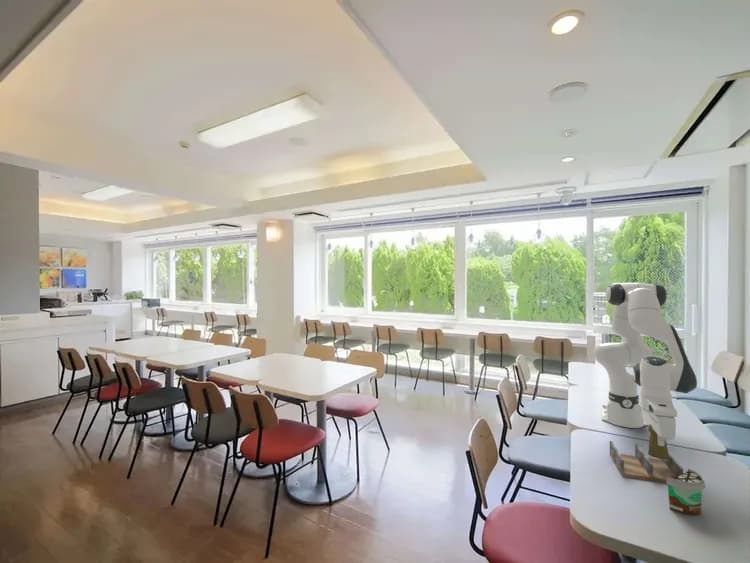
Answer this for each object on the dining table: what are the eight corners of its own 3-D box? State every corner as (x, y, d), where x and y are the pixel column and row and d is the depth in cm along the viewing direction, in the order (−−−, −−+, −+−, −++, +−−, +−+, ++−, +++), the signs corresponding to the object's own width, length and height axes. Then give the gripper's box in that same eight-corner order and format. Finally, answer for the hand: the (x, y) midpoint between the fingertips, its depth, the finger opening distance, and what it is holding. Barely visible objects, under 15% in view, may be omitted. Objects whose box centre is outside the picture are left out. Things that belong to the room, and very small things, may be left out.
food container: (692, 523, 98) (691, 487, 98) (667, 510, 103) (666, 476, 103) (715, 511, 102) (714, 477, 103) (689, 499, 108) (688, 467, 108)
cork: (673, 460, 120) (671, 428, 121) (653, 458, 122) (652, 426, 122) (663, 452, 126) (661, 422, 127) (644, 451, 128) (642, 421, 128)
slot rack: (609, 455, 137) (609, 440, 137) (664, 462, 130) (663, 447, 130) (621, 476, 122) (621, 459, 122) (683, 486, 115) (683, 468, 115)
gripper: (636, 394, 136) (637, 429, 135) (656, 411, 117) (657, 452, 116) (655, 395, 133) (656, 431, 133) (679, 413, 114) (681, 455, 114)
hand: (657, 441), depth 124 cm, fingers closed on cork, 4 cm apart
